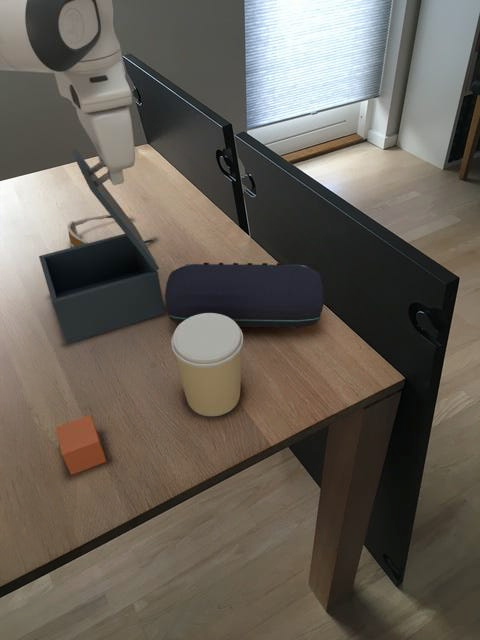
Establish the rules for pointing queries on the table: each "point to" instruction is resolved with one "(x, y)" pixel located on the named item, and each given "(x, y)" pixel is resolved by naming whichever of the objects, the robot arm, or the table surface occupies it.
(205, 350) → the coffee cup
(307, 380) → the table surface
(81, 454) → the block
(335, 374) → the table surface
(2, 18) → the robot arm
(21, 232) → the table surface
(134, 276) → the open box
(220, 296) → the portable speaker
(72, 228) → the sunglasses
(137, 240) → the lid
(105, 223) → the table surface
